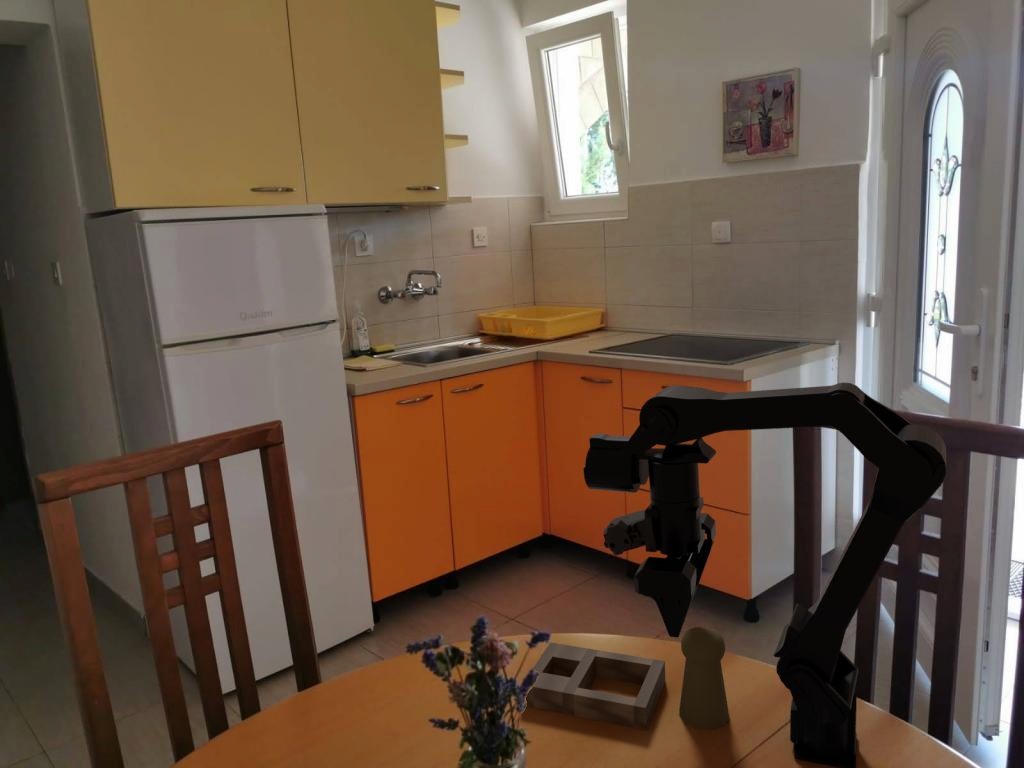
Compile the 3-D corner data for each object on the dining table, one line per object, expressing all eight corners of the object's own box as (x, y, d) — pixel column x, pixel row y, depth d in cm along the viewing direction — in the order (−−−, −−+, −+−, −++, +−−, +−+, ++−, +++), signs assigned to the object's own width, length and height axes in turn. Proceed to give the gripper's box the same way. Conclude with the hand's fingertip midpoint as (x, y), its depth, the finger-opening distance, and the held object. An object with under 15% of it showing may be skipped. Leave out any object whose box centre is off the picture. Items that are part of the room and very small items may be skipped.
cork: (717, 735, 93) (716, 651, 91) (670, 718, 97) (668, 637, 95) (737, 708, 98) (736, 628, 96) (691, 693, 101) (690, 615, 99)
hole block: (665, 681, 104) (664, 661, 104) (646, 730, 95) (645, 707, 94) (551, 661, 111) (550, 642, 110) (523, 705, 101) (521, 684, 101)
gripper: (627, 468, 104) (634, 578, 107) (585, 520, 87) (595, 649, 90) (713, 471, 99) (719, 585, 102) (686, 526, 83) (693, 661, 86)
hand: (681, 617), depth 95 cm, fingers open, 9 cm apart
